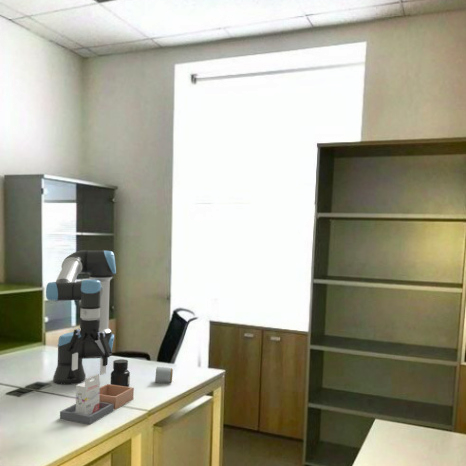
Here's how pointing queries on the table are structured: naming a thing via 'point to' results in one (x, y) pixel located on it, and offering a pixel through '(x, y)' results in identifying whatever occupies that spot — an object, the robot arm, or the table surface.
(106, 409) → the tray
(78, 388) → the ink cartridge box
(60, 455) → the table surface
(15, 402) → the table surface
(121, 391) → the square wooden frame
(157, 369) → the ceramic mug
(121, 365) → the ink bottle
